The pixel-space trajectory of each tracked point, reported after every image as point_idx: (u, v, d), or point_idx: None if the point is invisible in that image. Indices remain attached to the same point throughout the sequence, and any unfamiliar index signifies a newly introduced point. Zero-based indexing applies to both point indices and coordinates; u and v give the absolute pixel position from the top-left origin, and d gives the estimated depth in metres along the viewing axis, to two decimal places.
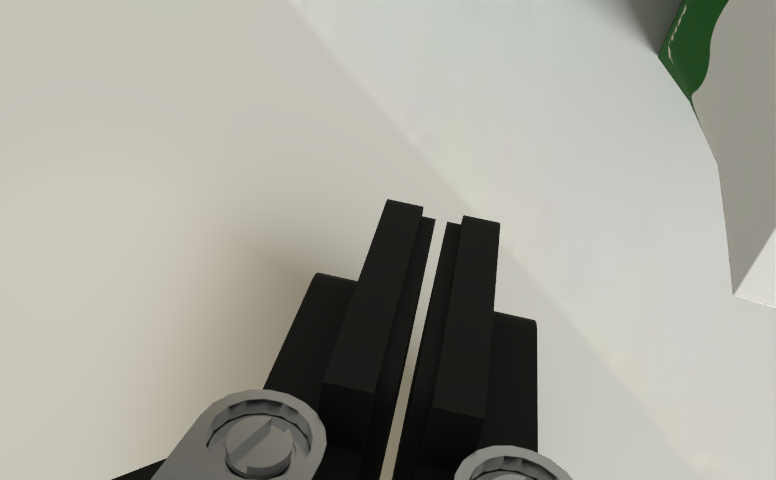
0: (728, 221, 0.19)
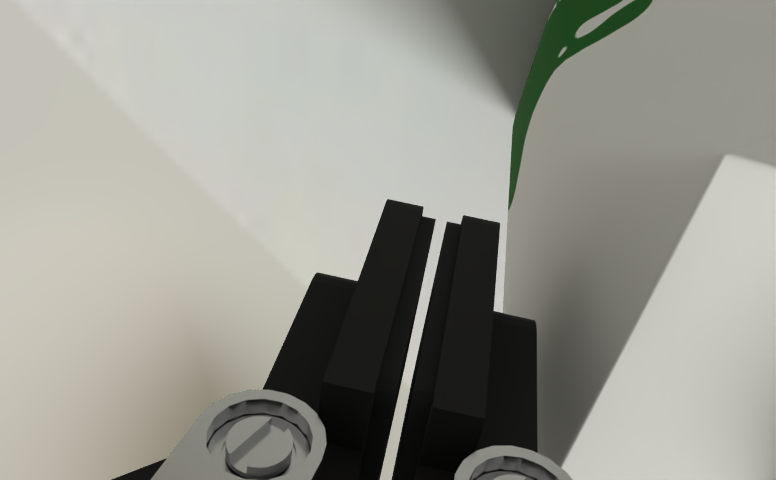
0: None
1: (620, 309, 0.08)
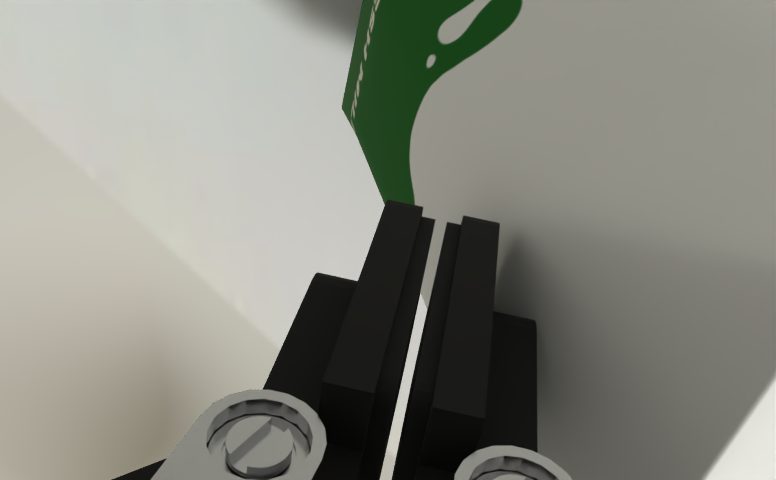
0: None
1: (693, 422, 0.08)
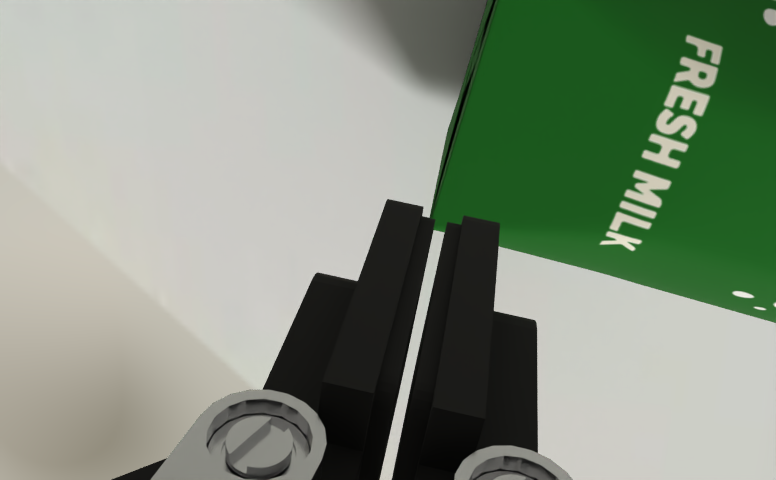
0: None
1: None
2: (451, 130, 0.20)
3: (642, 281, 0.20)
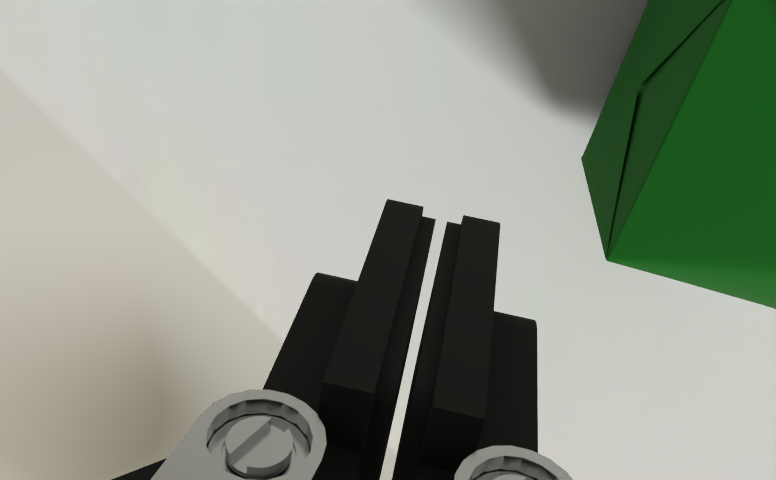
0: None
1: None
2: (616, 159, 0.20)
3: None
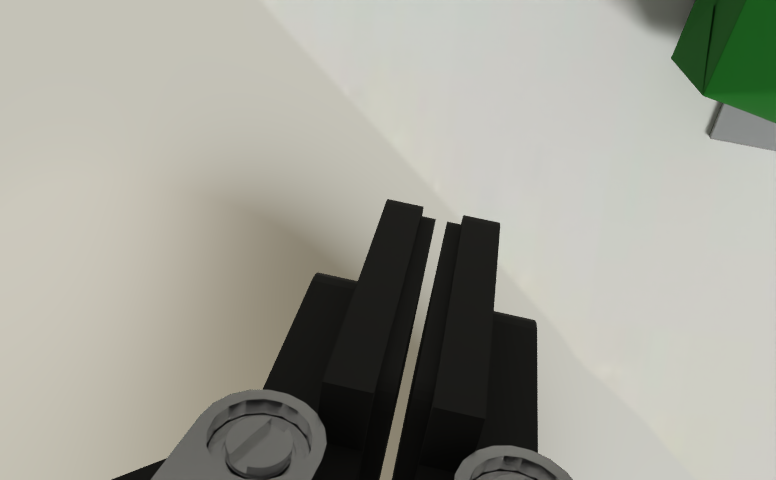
0: None
1: None
2: (702, 44, 0.35)
3: None
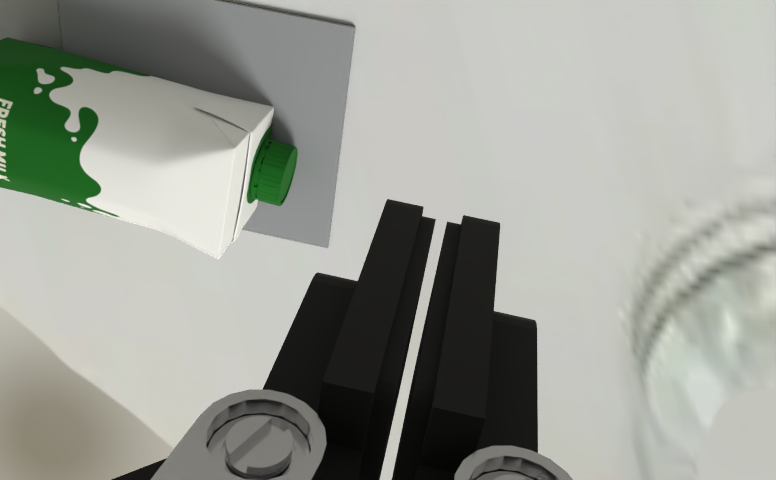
0: (191, 239, 0.44)
1: (223, 181, 0.42)
2: None
3: None
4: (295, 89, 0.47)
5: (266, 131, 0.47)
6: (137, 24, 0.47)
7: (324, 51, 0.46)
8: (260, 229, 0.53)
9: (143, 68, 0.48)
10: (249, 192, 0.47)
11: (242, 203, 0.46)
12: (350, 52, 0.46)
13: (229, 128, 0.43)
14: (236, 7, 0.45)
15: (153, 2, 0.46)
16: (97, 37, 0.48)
